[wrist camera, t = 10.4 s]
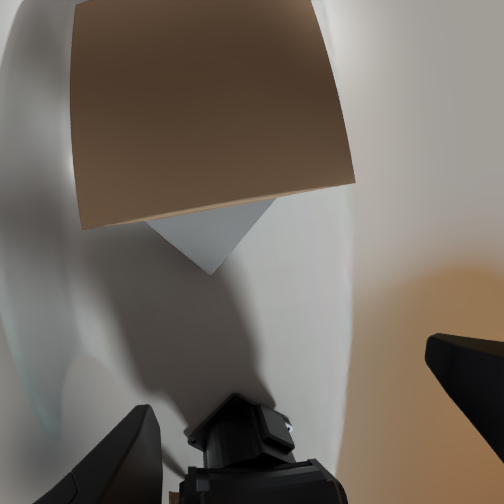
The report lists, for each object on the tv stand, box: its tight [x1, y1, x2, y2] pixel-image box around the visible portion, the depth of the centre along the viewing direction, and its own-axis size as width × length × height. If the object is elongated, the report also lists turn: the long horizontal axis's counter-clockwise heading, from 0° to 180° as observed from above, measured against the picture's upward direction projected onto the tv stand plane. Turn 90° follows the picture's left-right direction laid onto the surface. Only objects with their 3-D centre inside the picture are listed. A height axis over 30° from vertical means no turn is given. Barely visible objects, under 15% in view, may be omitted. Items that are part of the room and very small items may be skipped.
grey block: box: [145, 198, 276, 276], centre depth 19 cm, size 9×9×2 cm
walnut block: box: [70, 0, 355, 230], centre depth 11 cm, size 5×5×13 cm
